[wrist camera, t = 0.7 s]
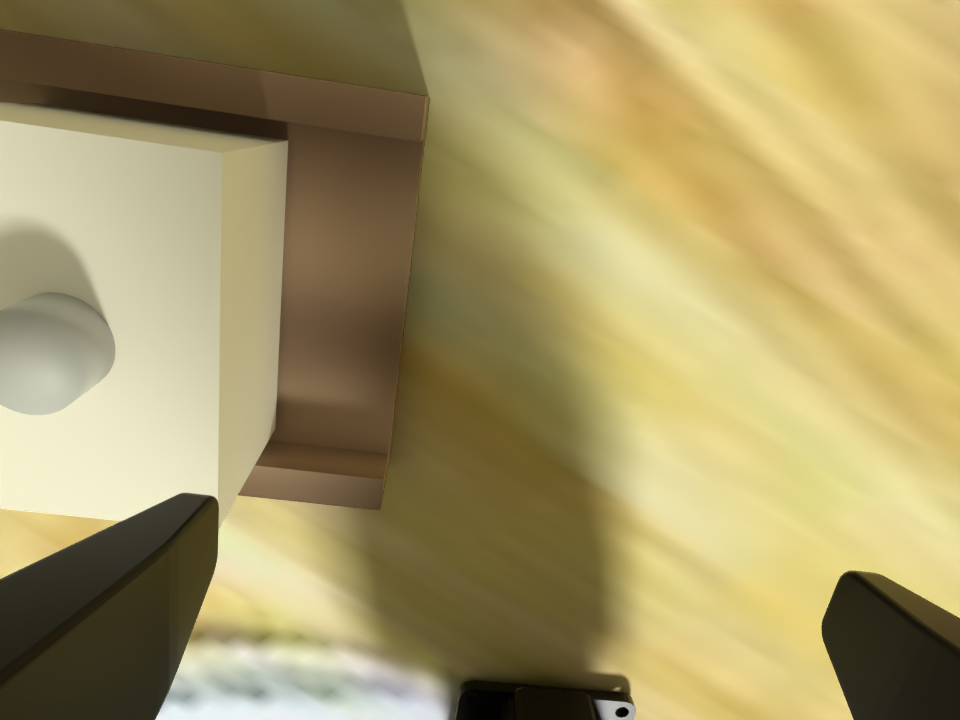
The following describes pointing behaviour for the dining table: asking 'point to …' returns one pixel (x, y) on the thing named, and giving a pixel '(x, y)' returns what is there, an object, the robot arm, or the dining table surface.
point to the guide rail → (289, 236)
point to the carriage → (135, 309)
